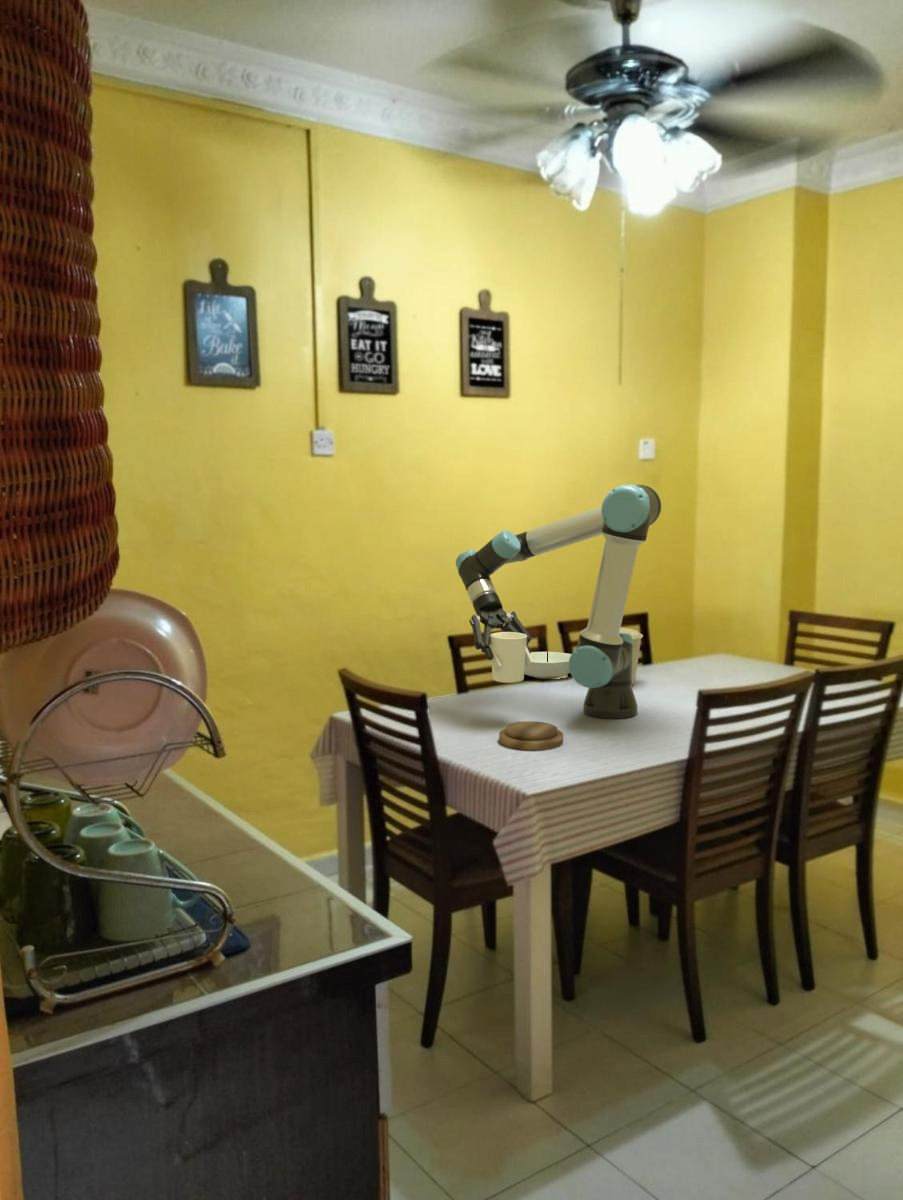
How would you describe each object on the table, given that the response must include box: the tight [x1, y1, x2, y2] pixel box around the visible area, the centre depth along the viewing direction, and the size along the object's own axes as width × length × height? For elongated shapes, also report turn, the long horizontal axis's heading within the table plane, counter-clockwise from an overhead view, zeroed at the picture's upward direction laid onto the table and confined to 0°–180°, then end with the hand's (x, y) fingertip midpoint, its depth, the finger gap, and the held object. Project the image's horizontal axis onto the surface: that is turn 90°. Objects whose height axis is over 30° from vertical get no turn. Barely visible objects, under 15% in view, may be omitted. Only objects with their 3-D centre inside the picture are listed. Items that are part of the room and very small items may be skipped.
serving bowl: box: [524, 651, 572, 680], centre depth 310 cm, size 21×21×7 cm
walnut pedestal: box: [498, 720, 564, 752], centre depth 232 cm, size 16×16×4 cm
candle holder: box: [490, 631, 527, 684], centre depth 246 cm, size 10×10×12 cm
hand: (514, 666), depth 244 cm, fingers closed on candle holder, 9 cm apart
